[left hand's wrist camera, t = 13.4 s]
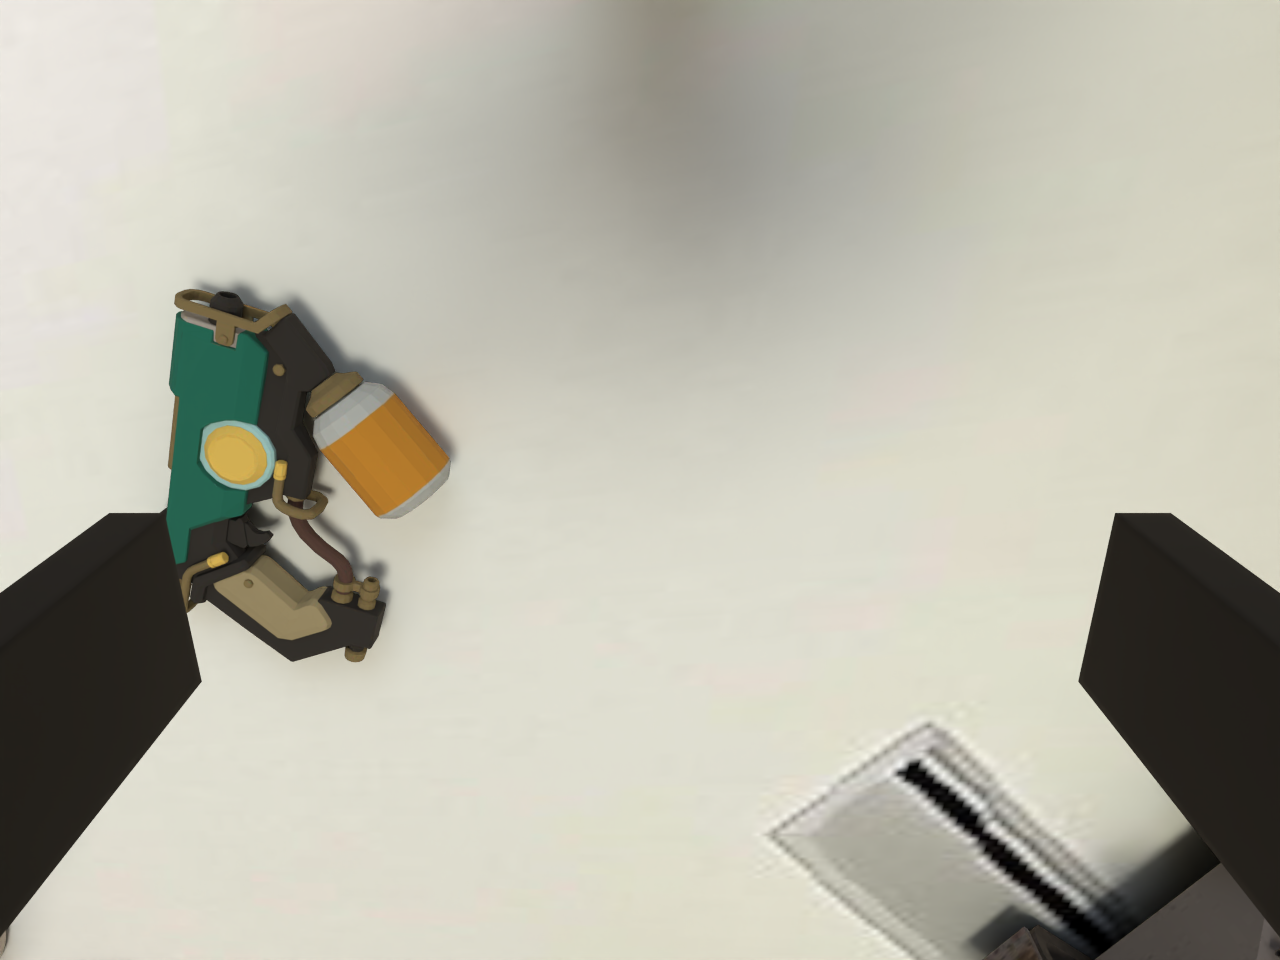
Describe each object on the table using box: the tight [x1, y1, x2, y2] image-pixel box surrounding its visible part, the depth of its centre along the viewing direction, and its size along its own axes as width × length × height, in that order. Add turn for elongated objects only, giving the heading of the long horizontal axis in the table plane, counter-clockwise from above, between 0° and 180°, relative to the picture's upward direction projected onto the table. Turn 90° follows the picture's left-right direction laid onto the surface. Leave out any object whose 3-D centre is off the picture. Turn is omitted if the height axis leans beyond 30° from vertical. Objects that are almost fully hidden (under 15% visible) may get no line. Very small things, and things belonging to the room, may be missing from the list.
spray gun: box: [160, 289, 450, 662], centre depth 42 cm, size 4×17×15 cm
